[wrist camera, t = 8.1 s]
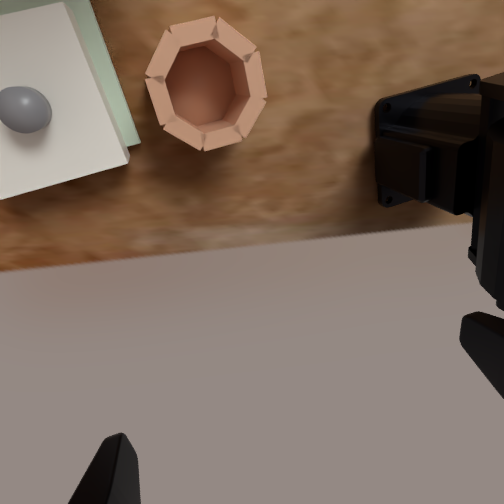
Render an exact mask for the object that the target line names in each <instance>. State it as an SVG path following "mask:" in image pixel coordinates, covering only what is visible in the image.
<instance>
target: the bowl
mask: <svg viewBox="0 0 504 504" xmlns="http://www.w3.org/2000/svg"><path fill="white" fill-rule="evenodd" d="M256 47H257V46H255V45H254V44H253V43H252V42H250V41H249V40H248V39H246V38H245V37H244V36H243V35H241V34H240V33H239V32H238V31H236V30H235V29H234V28H233V27H231V26H230V25H229V24H227V23H226V22H225V21H224V20H222V19H221V18H220V17H219V18H218V19H217V20H216V21H215V16H212V17H207V18H203V19H198V20H194V21H190V22H185V23H181V24H176V25H172V26H169V30H168V31H167V30H165V32H164V34H163V36H162V38H161V40H160V43H159V45H158V47H157V49H156V51H155V53H154V55H153V58H152V60H151V62H150V64H149V66H148V68H147V70H146V73H145V74H146V75H147V76H148V77H150V78H148V79H145V81H146V84H147V87H148V90H149V93H150V97H151V100H152V103H153V106H154V109H155V112H156V115H157V118H158V121H159V124H160V125H162V126H163V130H165V131H167V132H169V133H170V134H172V135H174V136H176V137H177V138H179V139H181V140H182V141H184V142H186V143H188V144H189V145H191V146H193V147H194V148H196V149H198V150H201V148H202V149H203V150H204V151H208V150H212V149H215V148H219V147H222V146H226V145H230V144H233V143H237V142H240V141H242V137H241V136H243V137H245V138H246V137H247V135H248V133H249V132H250V130H251V128H252V126H253V125H254V123H255V121H256V119H257V118H258V116H259V114H260V112H261V111H262V109H263V107H264V105H265V104H266V101H265V100H263V99H262V98H265V97H267V92H266V87H265V81H264V75H263V70H262V64H261V59H260V53H259V51H258V52H254V50H255V48H256ZM253 52H254V53H253Z"/></svg>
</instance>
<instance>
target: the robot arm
mask: <svg viewBox="0 0 504 504" xmlns="http://www.w3.org/2000/svg"><path fill="white" fill-rule="evenodd" d="M470 81H471V86H470V87H469V84H470ZM385 104H386V105H387V109H386V110H385V111H384V112H383V106H384V105H385ZM375 129H376V140H375V142H374V146H375V171H376V182H377V183H378V201H379V204H380V205H382V206H384V207H386V208H387V207H392V206H395V205H398V204H401V203H404V202H407V201H410V200H413V199H414V200H416V201H418V202H421V203H424V202H426V203H429V204H431V205H433V206H435V207H438V208H440V209H442V210H445V211H447V212H449V213H451V214H454V215H460V214H463V213H464V214H466V215H469V216H471V217H473V225H472V239H471V240H472V241H471V246H470V247H469V249H468V258H469V259H470V260H471V261H472V262H473V264H474V265H475V266H476V271H475V272H476V274H477V277H478V280H479V283H480V285H481V286H482V287H483V288H484V289H485V290H486V291H487V292H488V293H489V294H490V295H491V296H492V297H493V298H494V299H496V306H497V307H498V308H499V309H501V310H503V311H504V72H503V73H500V74H497V75H494V76H491V77H488V78H485V79H482V80H481V79H480V76H479V75H477V74H468V75H464V76H461V77H457V78H453V79H450V80H446V81H442V82H439V83H435V84H432V85H428V86H424V87H421V88H417V89H414V90H410V91H406V92H403V93H399V94H396V95H392V96H388V97H385V98H382V99H380V100H379V101H378V102H377V103H376V106H375ZM388 196H389V199H388V200H387V201H386V202H385V200H386V198H387V197H388ZM459 339H460V342H461V345H462V347H463V348H464V349H465V351H466V352H467V353H468V355H469V356H470V357H471V359H472V360H473V361H474V362H475V364H476V365H477V366H478V367H479V369H480V370H481V371H482V373H483V374H484V375H485V376H486V378H487V379H488V380H489V381H490V383H491V384H492V385H493V387H495V389H496V390H497V391H498V393H499V394H500V395H501V396H502V398H503V399H504V319H502V318H499V317H496V316H493V315H490V314H487V313H483V312H479V311H478V312H473V313H471V314H467V315H465V316H464V317H463V318H462V323H461V329H460V338H459ZM68 504H141V499H140V484H139V469H138V458H137V454H136V452H135V450H134V448H133V447H132V445H131V443H130V441H129V440H128V438H127V436H126V435H125V434H124V433H118V434H115V435H112V436H109V437H107V438H106V439H105V440H104V441H103V442H102V444H101V446H100V447H99V449H98V451H97V453H96V455H95V456H94V458H93V460H92V462H91V463H90V465H89V467H88V469H87V471H86V472H85V474H84V476H83V477H82V479H81V481H80V483H79V485H78V486H77V488H76V490H75V492H74V493H73V495H72V497H71V499H70V501H69V502H68Z"/></svg>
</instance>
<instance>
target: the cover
mask: <svg viewBox="0 0 504 504" xmlns="http://www.w3.org/2000/svg"><path fill="white" fill-rule="evenodd" d="M129 159H130V154H129V152H128V149H127V146H126V144H125V141H124V139H123V136H122V134H121V131H120V129H119V126H118V124H117V121H116V119H115V116H114V114H113V111H112V109H111V106H110V104H109V101H108V99H107V96H106V93H105V91H104V88H103V86H102V83H101V81H100V78H99V76H98V73H97V71H96V68H95V66H94V63H93V61H92V58H91V56H90V53H89V51H88V48H87V46H86V43H85V40H84V38H83V35H82V33H81V30H80V28H79V25H78V23H77V20H76V18H75V15H74V13H73V10H71V9H70V8H69V7H68V6H67V5H66V4H65V3H64V2H59V3H54V4H50V5H45V6H41V7H36V8H32V9H27V10H23V11H18V12H14V13H9V14H5V15H0V200H2V199H5V198H9V197H12V196H16V195H19V194H23V193H26V192H30V191H33V190H37V189H40V188H44V187H47V186H51V185H54V184H58V183H61V182H65V181H68V180H72V179H75V178H79V177H82V176H86V175H89V174H93V173H96V172H100V171H103V170H107V169H110V168H114V167H118V166H121V165H125V164H128V162H129Z"/></svg>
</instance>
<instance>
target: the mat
mask: <svg viewBox="0 0 504 504" xmlns="http://www.w3.org/2000/svg"><path fill="white" fill-rule="evenodd" d="M59 2H64V3H65V4H66V5H67V6H68V7H69V8H70V9H71V10H73V13H74V15H75V18H76V20H77V23H78V25H79V28H80V30H81V33H82V35H83V38H84V40H85V43H86V46H87V48H88V51H89V53H90V56H91V58H92V61H93V63H94V66H95V68H96V71H97V73H98V76H99V78H100V81H101V83H102V86H103V88H104V91H105V93H106V96H107V99H108V101H109V104H110V106H111V109H112V111H113V114H114V116H115V119H116V121H117V124H118V126H119V129H120V131H121V134H122V136H123V139H124V141H125V144H126V146H127V147H128V146H132V145H135V144H139V143H141V140H140V138H139V135H138V132H137V129H136V127H135V124H134V121H133V118H132V116H131V113H130V110H129V107H128V105H127V102H126V99H125V96H124V94H123V91H122V88H121V85H120V83H119V80H118V77H117V74H116V72H115V69H114V66H113V63H112V61H111V58H110V55H109V53H108V50H107V47H106V44H105V42H104V39H103V36H102V33H101V31H100V28H99V25H98V22H97V20H96V17H95V14H94V11H93V9H92V6H91V3H90V0H0V15H5V14H9V13H14V12H18V11H23V10H27V9H32V8H36V7H41V6H45V5H50V4H54V3H59Z"/></svg>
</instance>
